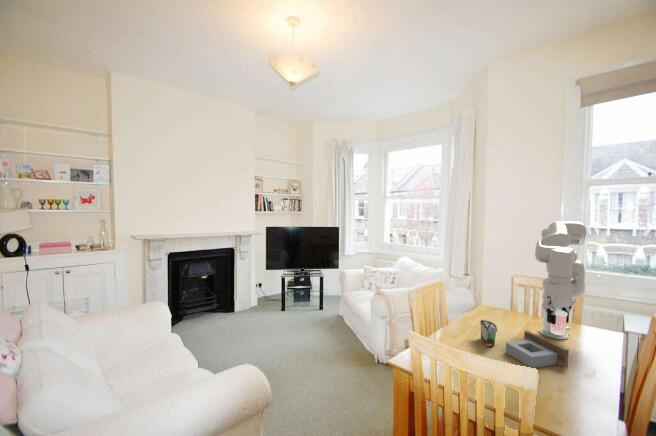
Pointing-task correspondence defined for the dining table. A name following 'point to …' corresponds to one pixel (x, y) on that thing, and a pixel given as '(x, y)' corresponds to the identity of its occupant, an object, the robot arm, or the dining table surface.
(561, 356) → the walnut wall
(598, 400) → the dining table surface
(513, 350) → the socket block
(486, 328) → the food container
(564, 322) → the beverage cup
